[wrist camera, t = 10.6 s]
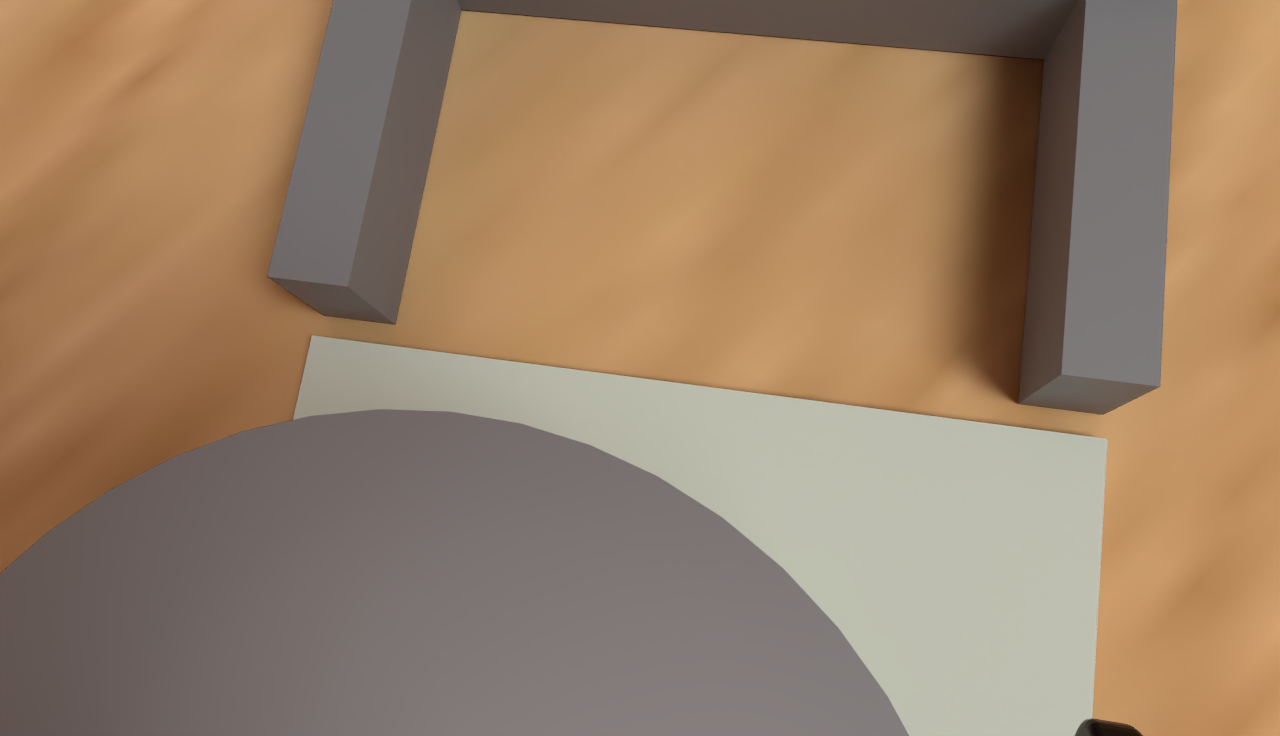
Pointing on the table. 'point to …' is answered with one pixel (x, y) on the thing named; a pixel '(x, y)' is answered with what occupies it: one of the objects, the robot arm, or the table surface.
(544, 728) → the grey capped tube
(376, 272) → the dispenser rack
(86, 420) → the table surface
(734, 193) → the table surface
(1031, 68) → the table surface
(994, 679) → the sage mat
